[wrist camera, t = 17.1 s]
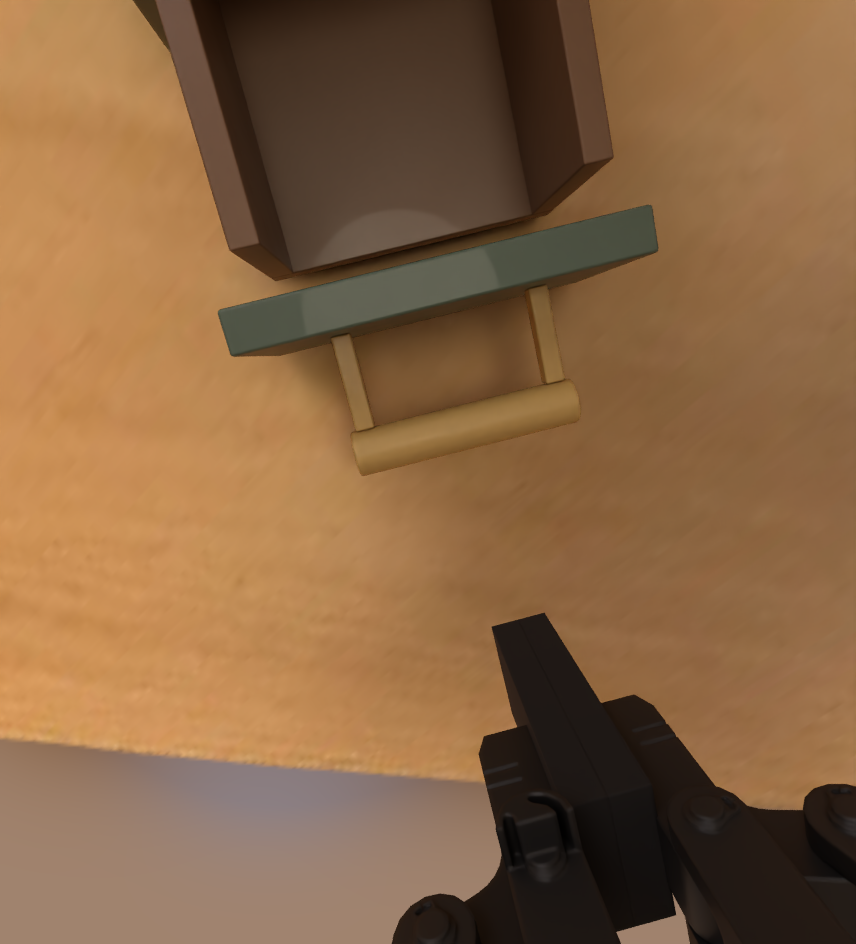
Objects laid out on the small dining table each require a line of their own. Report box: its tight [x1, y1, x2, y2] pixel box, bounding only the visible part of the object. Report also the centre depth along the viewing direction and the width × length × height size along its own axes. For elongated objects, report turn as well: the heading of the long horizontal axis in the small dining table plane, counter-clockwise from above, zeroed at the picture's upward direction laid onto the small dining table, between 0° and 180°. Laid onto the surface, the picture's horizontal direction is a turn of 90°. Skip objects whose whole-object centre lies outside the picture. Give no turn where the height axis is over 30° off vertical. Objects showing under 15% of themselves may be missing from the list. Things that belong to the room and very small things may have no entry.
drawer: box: [155, 0, 658, 476], centre depth 17 cm, size 19×11×7 cm, turn 14°
